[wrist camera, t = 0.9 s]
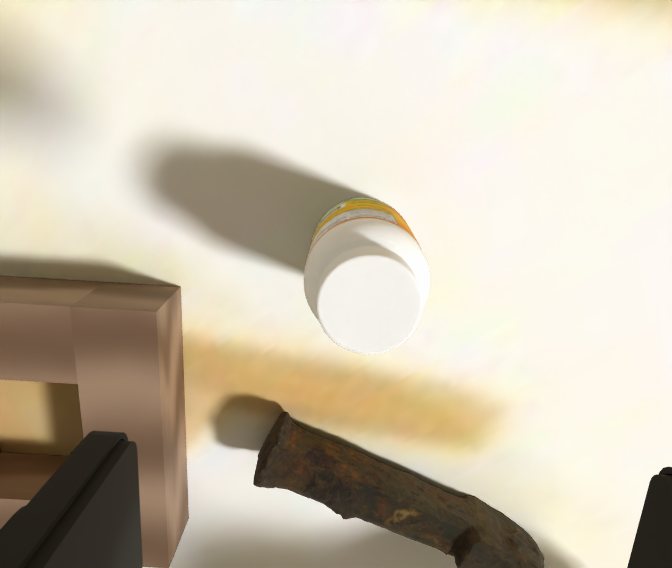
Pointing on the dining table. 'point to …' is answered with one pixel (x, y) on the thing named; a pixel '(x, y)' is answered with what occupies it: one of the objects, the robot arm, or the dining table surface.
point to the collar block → (104, 386)
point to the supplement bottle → (366, 276)
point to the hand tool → (391, 499)
